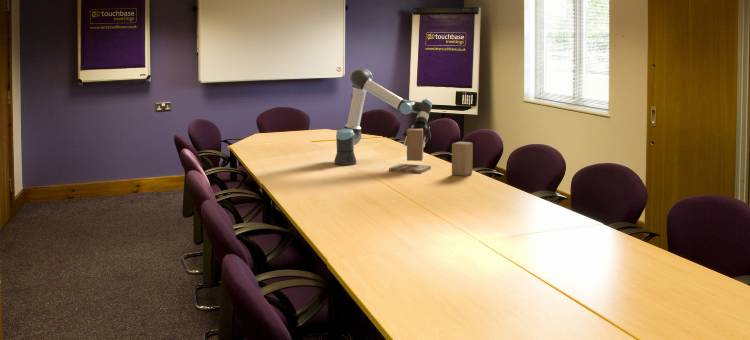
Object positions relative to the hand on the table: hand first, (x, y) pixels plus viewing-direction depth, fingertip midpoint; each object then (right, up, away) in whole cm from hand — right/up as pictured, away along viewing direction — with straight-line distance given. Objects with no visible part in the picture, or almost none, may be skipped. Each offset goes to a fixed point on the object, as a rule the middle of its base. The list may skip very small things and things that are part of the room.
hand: (413, 145), depth 457 cm
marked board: (-3, -16, -2) cm, 16 cm away
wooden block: (+1, -9, +4) cm, 10 cm away
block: (+29, -19, -19) cm, 40 cm away
